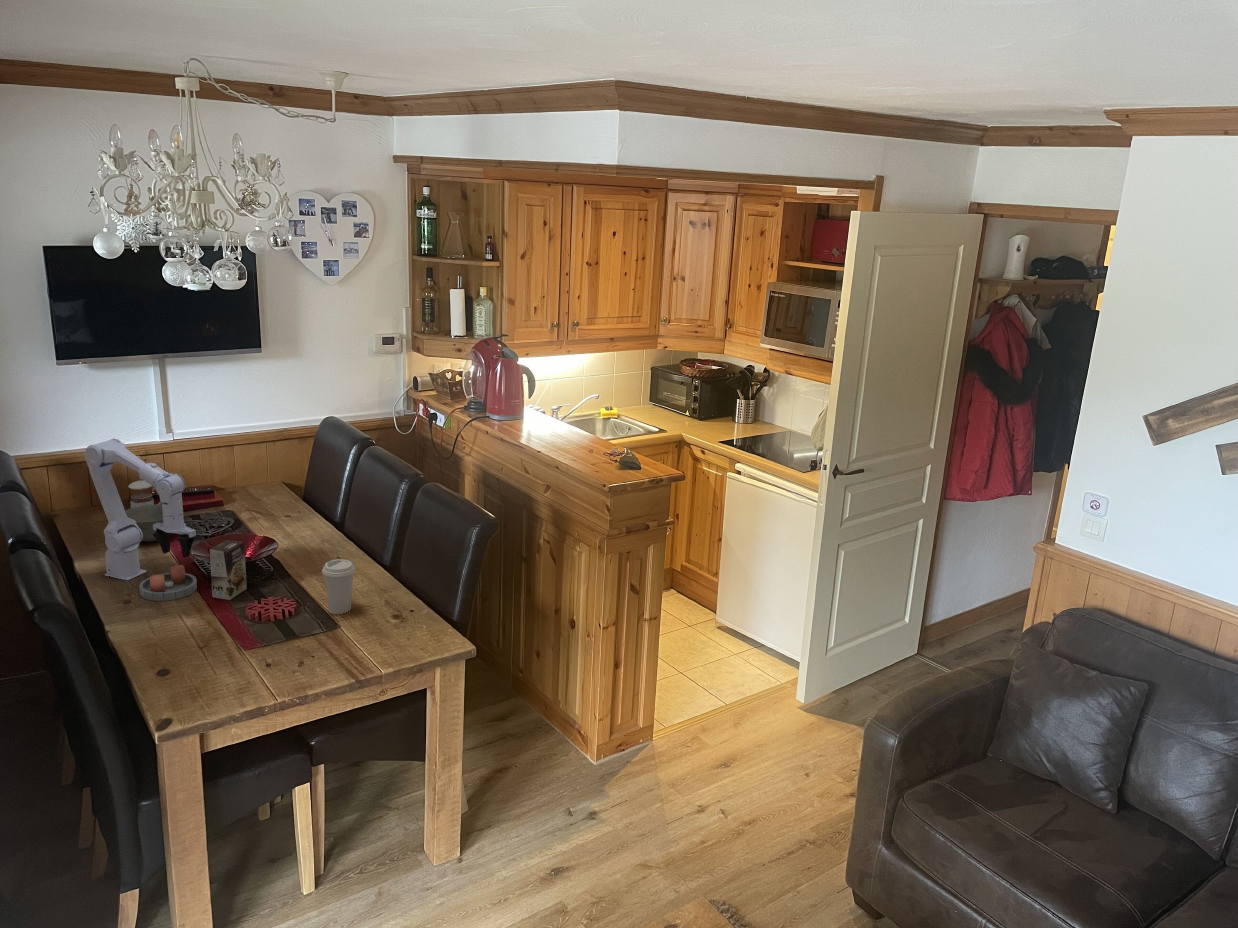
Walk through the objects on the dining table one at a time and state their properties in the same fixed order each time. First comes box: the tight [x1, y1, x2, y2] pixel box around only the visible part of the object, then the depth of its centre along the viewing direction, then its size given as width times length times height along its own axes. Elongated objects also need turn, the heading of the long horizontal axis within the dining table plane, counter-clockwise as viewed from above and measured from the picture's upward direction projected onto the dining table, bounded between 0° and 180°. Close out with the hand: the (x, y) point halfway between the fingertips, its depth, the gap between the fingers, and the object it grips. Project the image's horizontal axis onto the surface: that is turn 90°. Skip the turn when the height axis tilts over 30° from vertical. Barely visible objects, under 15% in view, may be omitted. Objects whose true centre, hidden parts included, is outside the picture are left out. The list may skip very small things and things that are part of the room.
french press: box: [127, 455, 162, 508], centre depth 338 cm, size 10×12×25 cm
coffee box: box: [209, 539, 248, 601], centre depth 284 cm, size 9×6×16 cm
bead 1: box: [150, 574, 165, 592], centre depth 281 cm, size 4×4×5 cm
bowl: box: [124, 504, 163, 543], centre depth 323 cm, size 19×19×10 cm
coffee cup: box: [321, 558, 356, 615], centre depth 278 cm, size 10×10×15 cm
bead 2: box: [170, 564, 186, 585], centre depth 289 cm, size 4×4×5 cm
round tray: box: [138, 572, 198, 602], centre depth 285 cm, size 16×16×2 cm
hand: (176, 554), depth 287 cm, fingers open, 7 cm apart
